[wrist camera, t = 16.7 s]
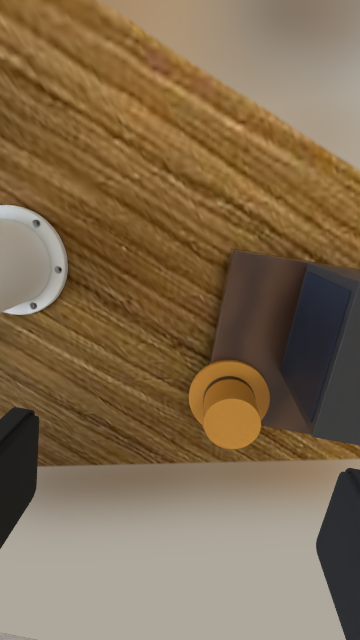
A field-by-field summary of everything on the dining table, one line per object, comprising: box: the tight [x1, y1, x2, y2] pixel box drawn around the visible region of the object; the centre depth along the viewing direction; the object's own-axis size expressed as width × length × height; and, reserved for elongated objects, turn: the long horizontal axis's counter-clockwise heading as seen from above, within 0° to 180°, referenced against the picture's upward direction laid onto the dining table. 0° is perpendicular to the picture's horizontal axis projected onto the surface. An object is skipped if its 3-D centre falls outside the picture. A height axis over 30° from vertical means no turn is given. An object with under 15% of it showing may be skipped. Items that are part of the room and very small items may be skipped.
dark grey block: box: [280, 263, 360, 445], centre depth 30 cm, size 6×12×12 cm, turn 171°
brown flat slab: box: [209, 249, 360, 434], centre depth 38 cm, size 15×19×4 cm
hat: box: [189, 360, 270, 449], centre depth 36 cm, size 9×9×6 cm
